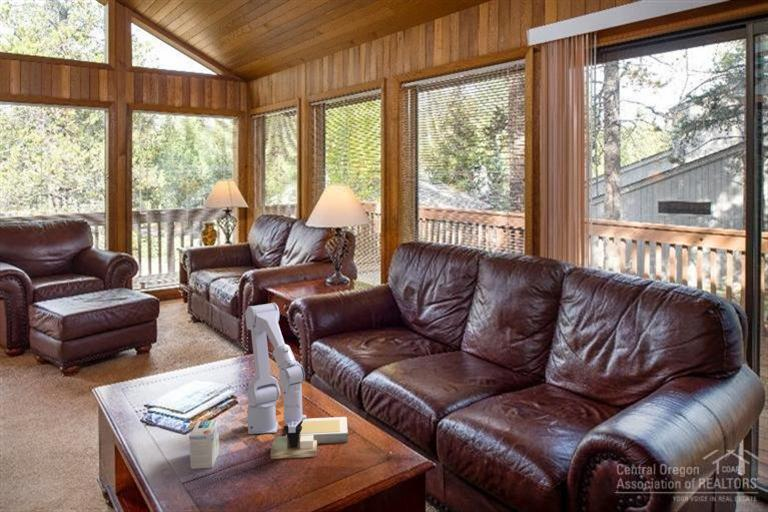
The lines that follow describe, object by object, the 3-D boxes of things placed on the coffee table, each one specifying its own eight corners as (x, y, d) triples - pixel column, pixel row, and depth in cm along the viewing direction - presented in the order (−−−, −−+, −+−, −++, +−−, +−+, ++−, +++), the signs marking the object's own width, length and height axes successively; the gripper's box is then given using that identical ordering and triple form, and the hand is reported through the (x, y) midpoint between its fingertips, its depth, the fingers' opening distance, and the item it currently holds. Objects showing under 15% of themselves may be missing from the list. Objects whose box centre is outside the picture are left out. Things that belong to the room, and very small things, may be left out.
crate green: (274, 450, 179) (274, 442, 179) (275, 444, 183) (275, 436, 183) (287, 449, 180) (287, 442, 179) (288, 443, 184) (288, 436, 183)
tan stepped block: (270, 458, 178) (270, 440, 177) (273, 447, 185) (272, 430, 184) (316, 456, 179) (315, 438, 178) (317, 445, 186) (316, 428, 185)
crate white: (300, 448, 180) (300, 441, 180) (301, 443, 184) (300, 435, 184) (313, 448, 180) (312, 440, 180) (313, 442, 184) (313, 435, 184)
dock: (286, 445, 187) (285, 437, 186) (289, 426, 201) (289, 419, 200) (347, 442, 189) (347, 434, 188) (346, 423, 202) (346, 416, 202)
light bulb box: (198, 452, 183) (196, 419, 181) (220, 451, 183) (218, 419, 182) (190, 469, 172) (188, 435, 171) (213, 468, 173) (211, 434, 171)
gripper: (304, 412, 173) (306, 454, 175) (306, 393, 187) (307, 433, 189) (280, 413, 172) (282, 456, 174) (284, 394, 187) (286, 434, 189)
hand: (294, 444), depth 182 cm, fingers closed on tan stepped block, 3 cm apart
